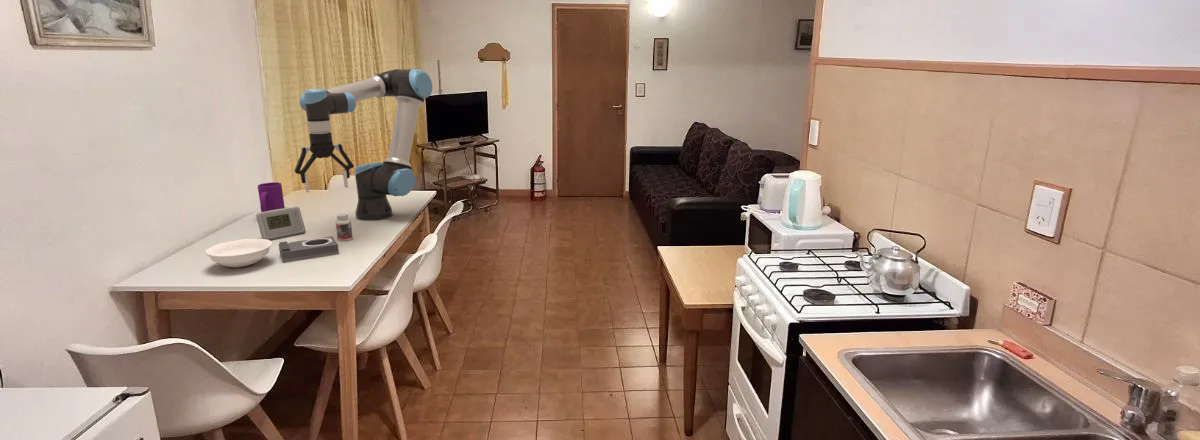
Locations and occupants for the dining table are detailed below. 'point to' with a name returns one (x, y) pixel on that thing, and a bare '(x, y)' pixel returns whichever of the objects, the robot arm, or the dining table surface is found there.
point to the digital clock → (280, 223)
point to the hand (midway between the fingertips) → (327, 189)
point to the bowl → (239, 252)
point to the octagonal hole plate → (308, 249)
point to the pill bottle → (343, 227)
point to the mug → (270, 196)
